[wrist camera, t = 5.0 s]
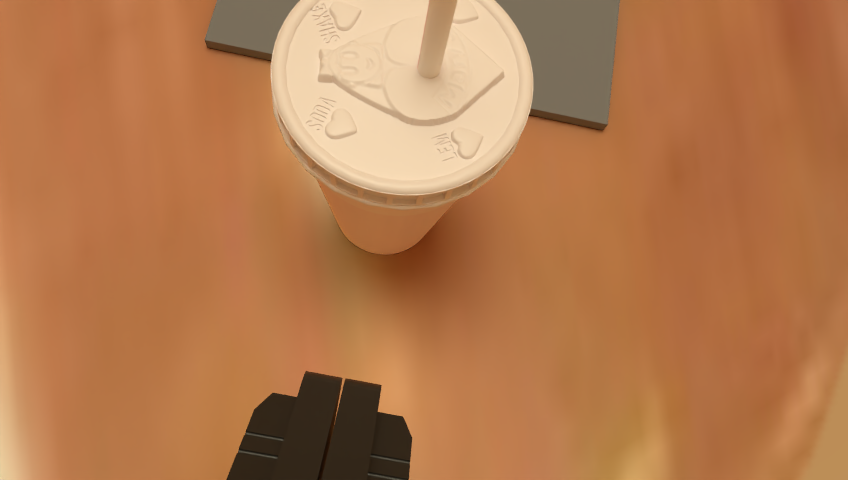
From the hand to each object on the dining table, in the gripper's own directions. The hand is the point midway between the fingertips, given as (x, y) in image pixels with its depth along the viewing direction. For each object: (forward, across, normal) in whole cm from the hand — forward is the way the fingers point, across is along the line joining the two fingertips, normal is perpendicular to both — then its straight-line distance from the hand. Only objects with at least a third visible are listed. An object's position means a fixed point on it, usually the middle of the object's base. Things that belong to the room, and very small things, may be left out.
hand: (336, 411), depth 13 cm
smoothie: (+13, 0, +2) cm, 13 cm away
